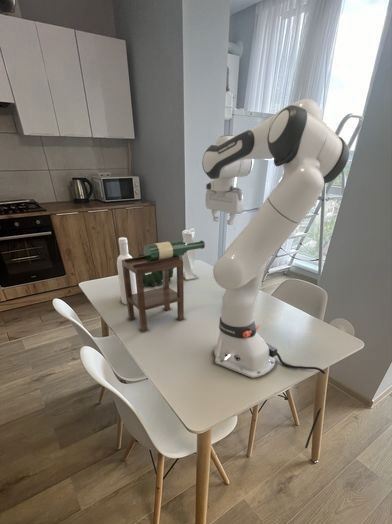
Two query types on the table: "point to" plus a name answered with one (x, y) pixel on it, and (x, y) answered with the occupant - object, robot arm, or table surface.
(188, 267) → the skyscraper
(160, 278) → the toy figurine
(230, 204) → the robot arm
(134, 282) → the bottle
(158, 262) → the stand
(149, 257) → the bottle
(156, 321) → the table surface
